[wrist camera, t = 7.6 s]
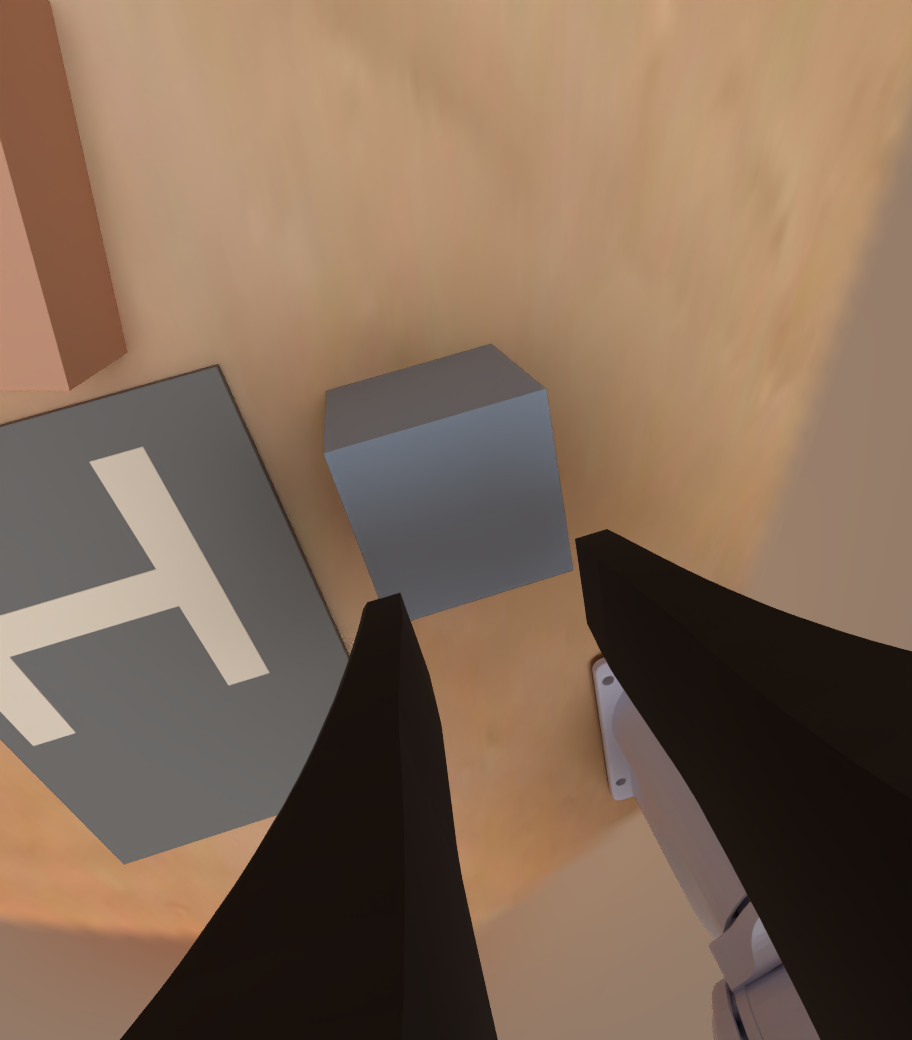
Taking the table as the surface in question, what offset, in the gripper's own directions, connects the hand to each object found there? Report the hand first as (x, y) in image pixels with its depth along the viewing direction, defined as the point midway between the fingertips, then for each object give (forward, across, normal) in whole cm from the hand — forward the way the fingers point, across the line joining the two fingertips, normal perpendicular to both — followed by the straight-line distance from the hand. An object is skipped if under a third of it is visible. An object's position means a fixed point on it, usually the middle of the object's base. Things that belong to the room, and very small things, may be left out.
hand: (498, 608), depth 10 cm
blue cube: (+8, 0, 0) cm, 8 cm away
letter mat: (+8, +11, +5) cm, 15 cm away
